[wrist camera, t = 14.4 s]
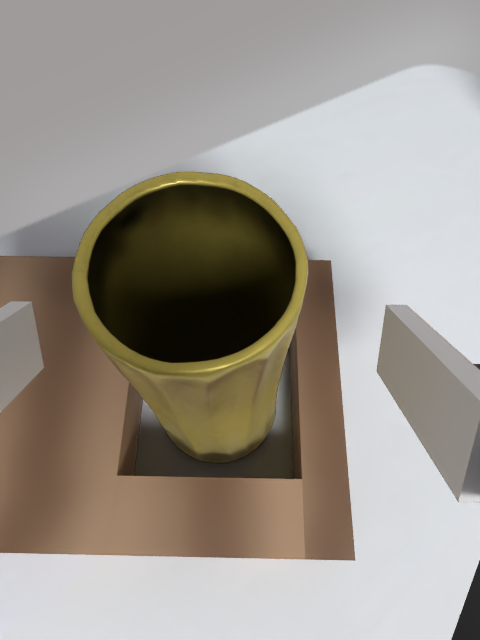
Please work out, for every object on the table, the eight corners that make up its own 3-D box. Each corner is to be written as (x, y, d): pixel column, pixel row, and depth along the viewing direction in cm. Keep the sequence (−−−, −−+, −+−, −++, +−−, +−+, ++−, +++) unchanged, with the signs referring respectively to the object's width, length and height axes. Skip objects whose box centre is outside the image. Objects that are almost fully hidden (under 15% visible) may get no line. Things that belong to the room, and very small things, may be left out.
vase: (212, 329, 24) (180, 119, 11) (298, 395, 22) (384, 244, 9) (137, 411, 22) (-13, 278, 9) (226, 489, 20) (204, 471, 7)
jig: (-43, 543, 19) (-90, 550, 17) (24, 282, 25) (-3, 255, 22) (338, 551, 19) (355, 560, 16) (320, 287, 25) (330, 260, 22)
